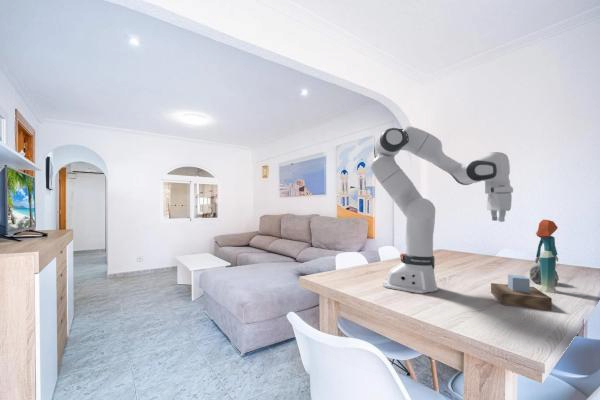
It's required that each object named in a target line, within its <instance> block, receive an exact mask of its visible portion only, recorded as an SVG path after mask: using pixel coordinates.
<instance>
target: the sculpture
mask: <svg viewBox="0 0 600 400" xmlns="http://www.w3.org/2000/svg"><path fill="white" fill-rule="evenodd" d="M558 228H559V227H558V226H557V224H556V223H555V222H554V221H553V220H550V219H542V220H541V221H540V222H539V223H538V228H537V230H536V232H535V235H536V237H539V239H540V240H539V243H538V247H537V251H536V257H535V259H534V263H535V264H536V265H537V264H539V263H540V271H541V282H542V284H540V286H539V287H537V289H538V290H539V291H541V292H543V293H551V294H557V293H558V292H559V291H557V289H556V287H555V285H556V284H555V270H556V269H557V268H556V267H557V265H556V264H557V262H558V261H559V257H558V256H557V255H558V250H557V247H556V238H555V237H554V236H553V234H554V233H555V232H556V231H557V230H558ZM542 246H543V249H544V250H543V251H542V250H541V249H542ZM541 251H542V253H541ZM558 294H559V293H558Z"/></svg>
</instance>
